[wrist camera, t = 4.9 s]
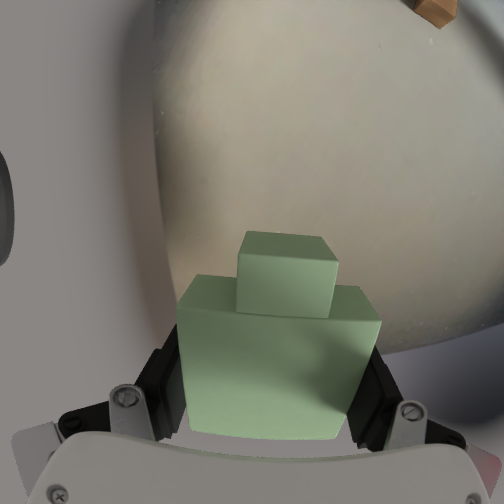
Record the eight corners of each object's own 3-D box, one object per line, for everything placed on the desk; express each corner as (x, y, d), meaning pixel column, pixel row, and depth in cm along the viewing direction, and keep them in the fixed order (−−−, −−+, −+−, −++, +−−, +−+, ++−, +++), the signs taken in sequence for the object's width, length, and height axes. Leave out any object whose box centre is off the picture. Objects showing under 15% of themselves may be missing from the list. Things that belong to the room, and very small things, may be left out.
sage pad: (201, 389, 14) (189, 430, 11) (196, 226, 11) (171, 247, 8) (327, 398, 13) (335, 439, 10) (367, 241, 11) (397, 265, 8)
